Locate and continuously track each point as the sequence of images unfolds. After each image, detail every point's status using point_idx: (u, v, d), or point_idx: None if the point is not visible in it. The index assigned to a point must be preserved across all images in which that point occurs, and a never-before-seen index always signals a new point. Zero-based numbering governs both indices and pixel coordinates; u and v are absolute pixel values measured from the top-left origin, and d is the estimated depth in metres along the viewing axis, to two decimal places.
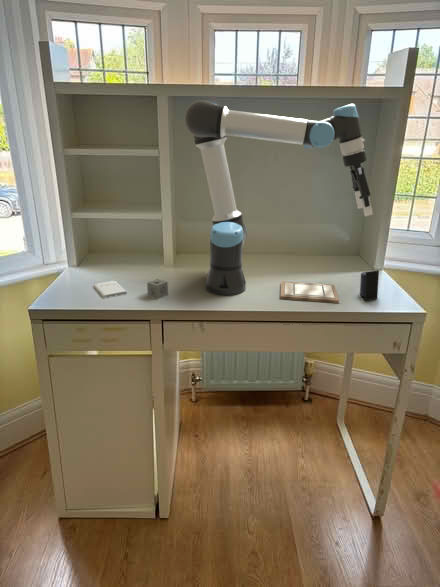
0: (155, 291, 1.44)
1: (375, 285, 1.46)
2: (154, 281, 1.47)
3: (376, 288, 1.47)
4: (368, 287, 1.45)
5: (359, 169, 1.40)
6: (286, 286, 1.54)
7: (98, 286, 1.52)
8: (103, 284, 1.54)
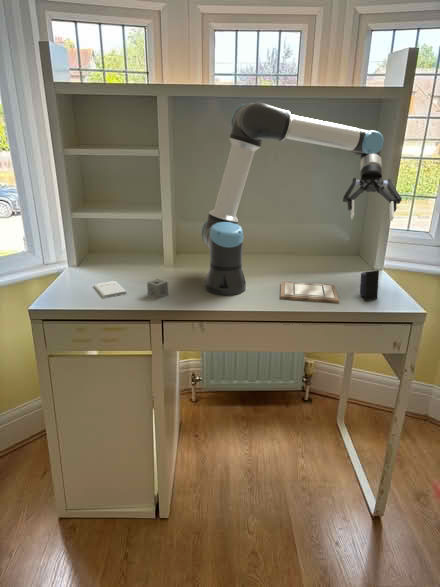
0: (155, 291, 1.44)
1: (375, 285, 1.46)
2: (154, 281, 1.47)
3: (376, 288, 1.47)
4: (368, 287, 1.45)
5: None
6: (286, 286, 1.54)
7: (98, 286, 1.52)
8: (103, 284, 1.54)
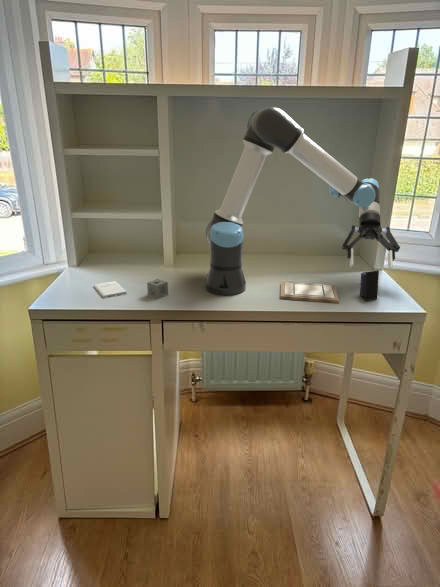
0: (155, 291, 1.44)
1: (375, 285, 1.46)
2: (154, 281, 1.47)
3: (376, 288, 1.47)
4: (368, 287, 1.45)
5: None
6: (286, 286, 1.54)
7: (98, 286, 1.52)
8: (103, 284, 1.54)
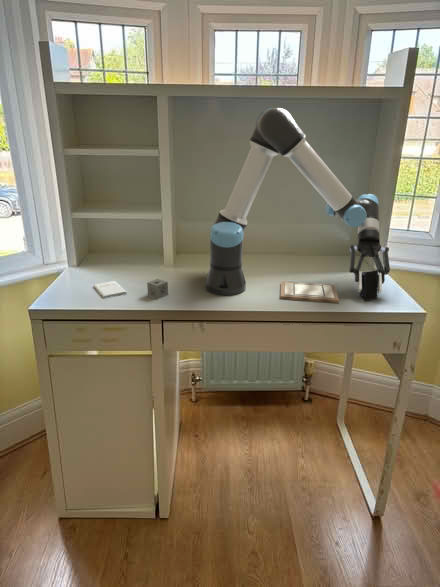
0: (155, 291, 1.44)
1: (375, 284, 1.46)
2: (154, 281, 1.47)
3: (376, 288, 1.46)
4: (367, 286, 1.45)
5: None
6: (286, 286, 1.54)
7: (98, 286, 1.52)
8: (103, 284, 1.54)
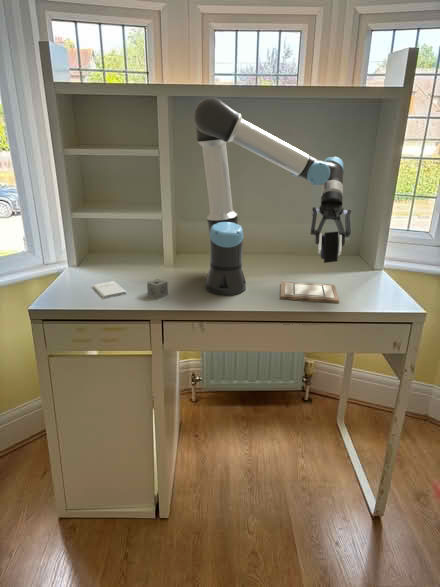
0: (155, 291, 1.44)
1: (335, 246, 1.43)
2: (154, 281, 1.47)
3: (336, 250, 1.43)
4: (327, 248, 1.42)
5: None
6: (286, 286, 1.54)
7: (97, 287, 1.52)
8: (102, 285, 1.54)
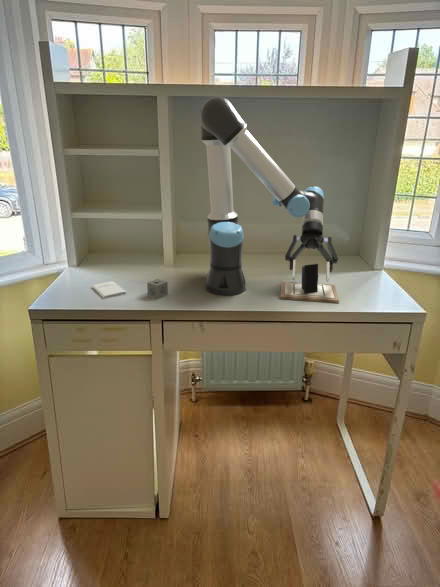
0: (155, 291, 1.44)
1: (315, 278, 1.48)
2: (154, 281, 1.47)
3: (316, 281, 1.48)
4: (307, 280, 1.47)
5: None
6: (286, 286, 1.54)
7: (96, 287, 1.52)
8: (101, 285, 1.53)
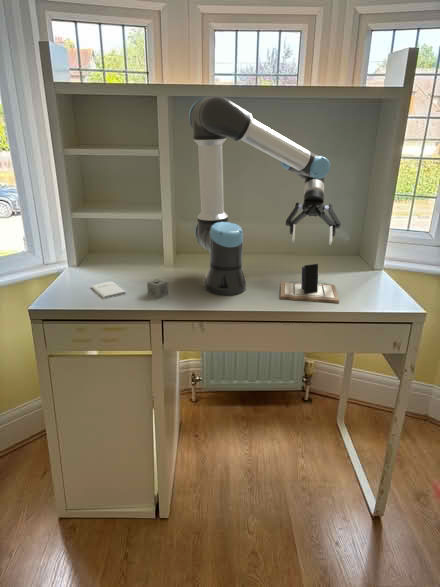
0: (155, 291, 1.44)
1: (315, 278, 1.48)
2: (154, 281, 1.47)
3: (316, 281, 1.48)
4: (307, 280, 1.47)
5: None
6: (286, 286, 1.54)
7: (96, 287, 1.51)
8: (100, 285, 1.53)
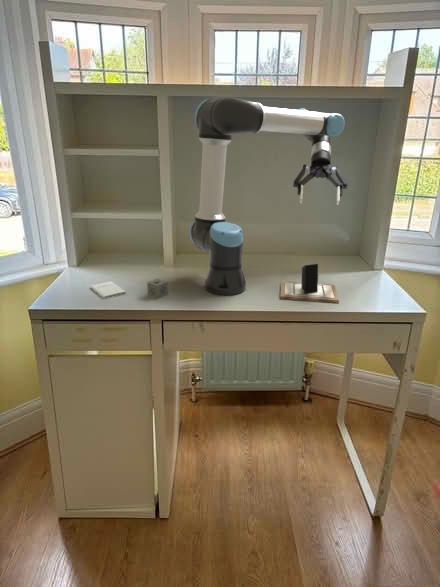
0: (155, 291, 1.44)
1: (315, 278, 1.48)
2: (154, 281, 1.47)
3: (316, 281, 1.48)
4: (307, 280, 1.47)
5: None
6: (286, 286, 1.54)
7: (95, 287, 1.51)
8: (100, 285, 1.53)
